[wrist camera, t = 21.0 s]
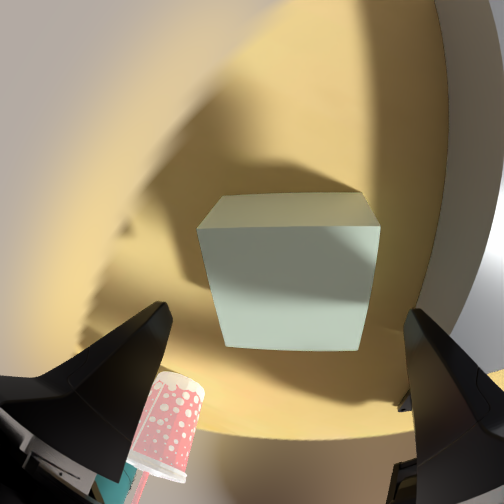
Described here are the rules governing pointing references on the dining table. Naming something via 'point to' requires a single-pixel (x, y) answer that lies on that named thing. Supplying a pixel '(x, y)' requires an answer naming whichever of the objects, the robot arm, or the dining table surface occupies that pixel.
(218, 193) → the dining table surface
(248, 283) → the rectangular block
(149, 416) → the beverage cup
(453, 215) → the box
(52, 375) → the robot arm
